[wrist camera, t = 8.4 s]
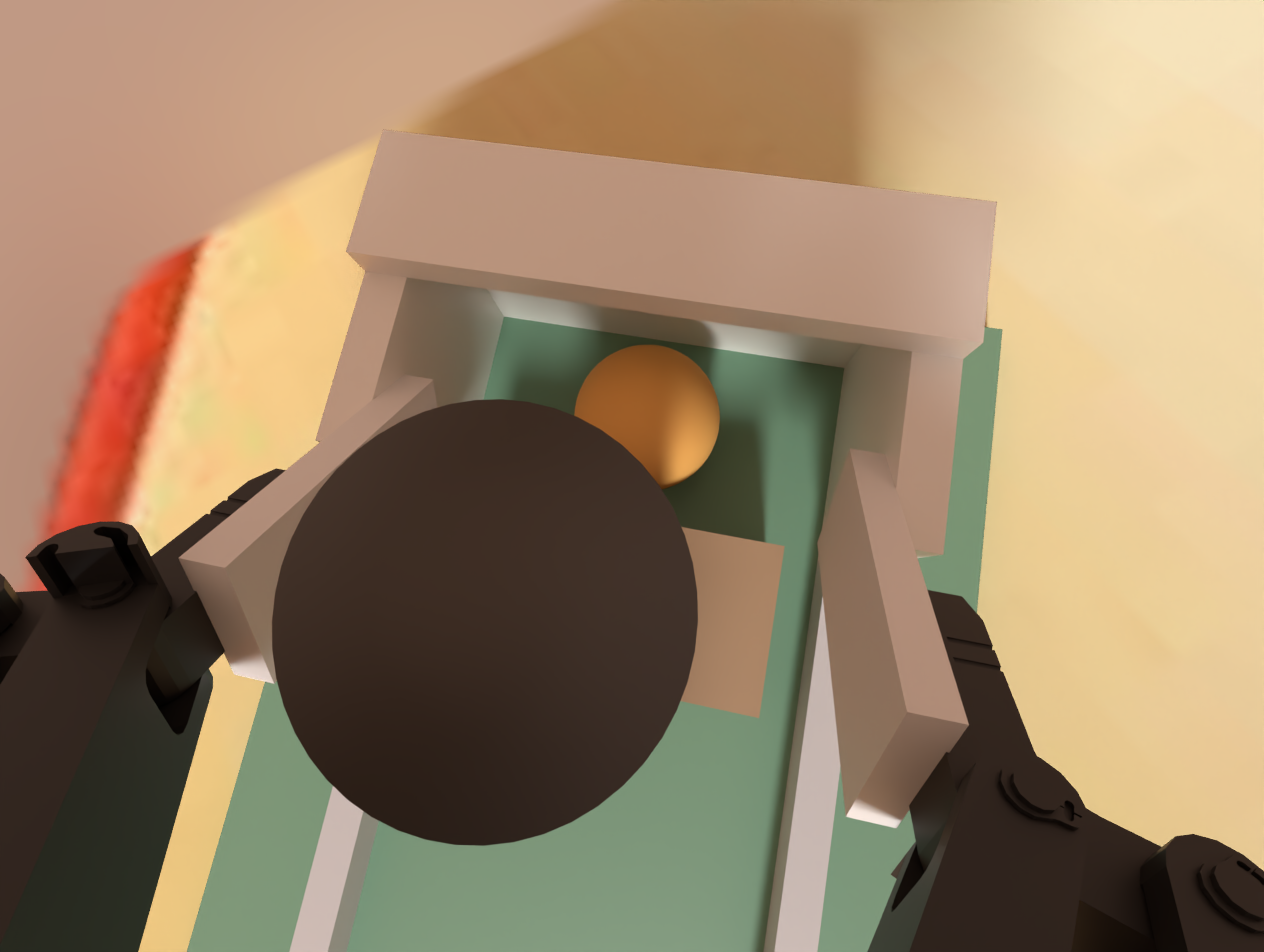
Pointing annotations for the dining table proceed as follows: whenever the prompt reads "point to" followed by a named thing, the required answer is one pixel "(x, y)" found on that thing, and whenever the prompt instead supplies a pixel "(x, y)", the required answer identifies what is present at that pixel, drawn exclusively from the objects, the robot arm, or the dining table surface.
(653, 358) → the ball
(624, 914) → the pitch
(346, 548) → the rubber stamp
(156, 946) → the dining table surface
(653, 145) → the dining table surface
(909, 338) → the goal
